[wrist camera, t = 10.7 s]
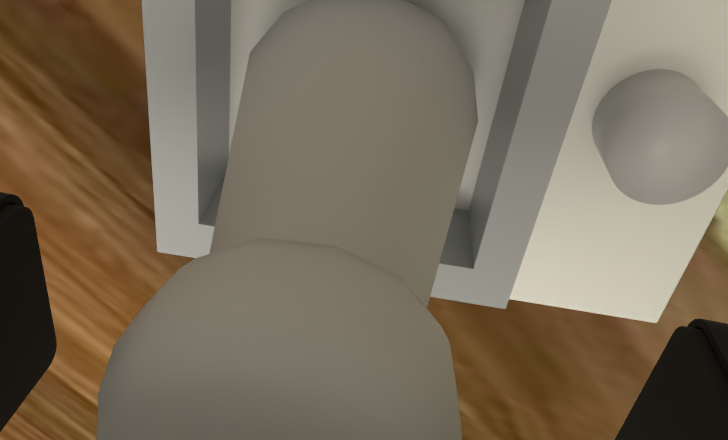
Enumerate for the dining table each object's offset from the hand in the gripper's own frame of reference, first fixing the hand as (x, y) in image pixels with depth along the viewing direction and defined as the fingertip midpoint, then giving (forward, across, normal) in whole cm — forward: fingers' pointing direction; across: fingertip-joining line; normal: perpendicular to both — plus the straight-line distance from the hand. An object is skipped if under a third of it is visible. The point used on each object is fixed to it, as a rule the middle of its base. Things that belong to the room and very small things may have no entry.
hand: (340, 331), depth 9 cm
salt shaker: (+10, +1, 0) cm, 10 cm away
